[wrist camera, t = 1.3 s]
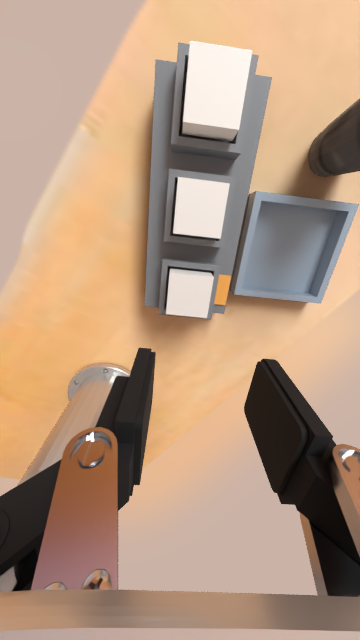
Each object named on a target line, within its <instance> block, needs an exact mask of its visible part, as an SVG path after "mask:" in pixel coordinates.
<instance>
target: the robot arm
mask: <svg viewBox="0 0 360 640" xmlns="http://www.w3.org/2000/svg"><path fill="white" fill-rule="evenodd" d="M155 354H156V353H155V352H151V349H147V348H139V349H138V352H137V355H136V358H135V361H134V364H133V367H132V370H131V372H130V371H128V370H127V369H125V368H123V367H120V366H117V365H114V364H107V363H98V364H93V365H89V366H87V367H84V368H83V369H81V370H80V371H78V372H77V373H76V375H75V376H74V377H73V378H72V380H71V382H70V384H69V388H68V396H69V400H70V402H69V404H68V405H67V407H66V408H65V410H64V412H63V413H62V415H61V416H60V418H59V420H58V421H57V423H56V424H55V426H54V428H53V429H52V431H51V433H50V434H49V436H48V437H47V439H46V441H45V442H44V444H43V445H42V447H41V449H40V450H39V452H38V453H37V455H36V457H35V458H34V460H33V462H32V463H31V465H30V466H29V468H28V470H27V471H26V473H25V474H24V476H23V478H22V479H21V481H20V482H19V484H18V486H17V487H15V488H13V489H12V490H10V491H8V492H7V493H5V494H3V495H2V496H0V640H360V449H358V448H356V447H353V446H350V445H345V444H340V445H336V444H335V443H334V441H333V440H332V438H333V436H332V435H331V433H330V432H329V431H328V429H327V428H326V427H325V425H324V424H323V422H322V421H321V420H320V418H319V417H318V416H317V414H316V413H315V412H314V410H313V409H312V408H311V406H310V405H309V404H308V402H307V401H306V400H305V398H304V397H303V395H302V394H301V393H300V392H299V390H298V389H297V387H296V386H295V385H294V383H293V382H292V381H291V379H290V378H289V377H288V375H287V374H286V373H285V371H284V370H283V368H282V367H281V366H280V364H279V363H278V362H277V361H276V360H272V359H262V360H261V362H258V363H257V365H256V368H255V372H254V375H253V379H252V382H251V386H250V389H249V392H248V395H247V399H246V402H245V406H244V411H245V415H246V418H247V421H248V424H249V426H250V429H251V432H252V435H253V438H254V440H255V443H256V446H257V449H258V451H259V454H260V457H261V460H262V463H263V466H264V468H265V471H266V474H267V477H268V479H269V482H270V485H271V488H272V490H273V491H274V492H275V493H277V494H278V497H279V499H280V502H281V504H294V505H296V508H297V510H298V511H299V512H300V519H301V523H302V528H303V532H304V537H305V541H306V545H307V550H308V554H309V559H310V563H311V568H312V572H313V576H314V581H315V585H316V590H317V594H318V596H314V595H285V594H253V593H222V592H183V591H146V590H118V510H120V509H121V508H122V507H123V506H124V505H125V504H126V503H127V502H128V501H129V496H132V492H133V486H134V485H140V479H141V473H142V466H143V459H144V452H145V446H146V439H147V432H148V426H149V419H150V412H151V405H152V395H153V381H154V368H155Z"/></svg>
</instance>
